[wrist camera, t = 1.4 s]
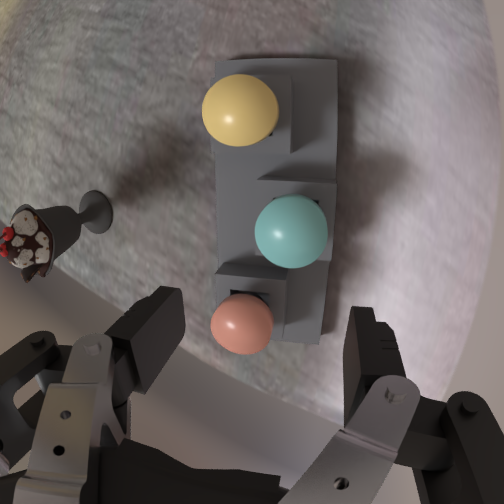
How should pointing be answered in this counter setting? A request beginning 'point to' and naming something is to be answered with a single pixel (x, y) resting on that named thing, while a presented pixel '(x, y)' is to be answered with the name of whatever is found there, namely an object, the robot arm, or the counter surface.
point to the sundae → (51, 232)
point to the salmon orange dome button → (242, 323)
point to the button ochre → (240, 110)
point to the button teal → (291, 231)
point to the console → (279, 191)
